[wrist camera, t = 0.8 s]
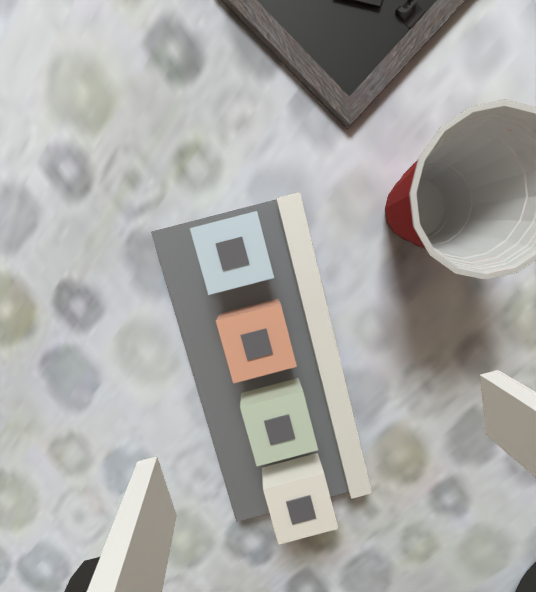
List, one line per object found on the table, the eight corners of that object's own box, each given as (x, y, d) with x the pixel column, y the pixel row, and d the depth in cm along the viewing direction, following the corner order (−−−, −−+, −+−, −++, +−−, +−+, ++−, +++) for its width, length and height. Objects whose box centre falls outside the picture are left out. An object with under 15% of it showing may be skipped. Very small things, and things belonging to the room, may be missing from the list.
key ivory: (330, 504, 34) (338, 530, 31) (276, 518, 34) (278, 545, 31) (317, 453, 33) (324, 474, 30) (262, 467, 33) (263, 490, 30)
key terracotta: (292, 355, 32) (297, 367, 29) (235, 370, 32) (233, 384, 29) (278, 298, 31) (280, 304, 28) (219, 314, 31) (215, 321, 28)
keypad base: (362, 474, 38) (372, 493, 35) (237, 507, 38) (235, 529, 35) (295, 196, 35) (299, 192, 32) (156, 232, 35) (147, 231, 32)
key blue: (272, 275, 31) (274, 278, 28) (212, 290, 31) (208, 295, 28) (256, 214, 30) (257, 210, 27) (195, 230, 30) (189, 228, 27)
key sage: (312, 432, 33) (318, 451, 30) (256, 446, 33) (256, 467, 30) (298, 378, 32) (303, 391, 29) (241, 393, 32) (240, 408, 29)
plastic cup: (382, 287, 36) (446, 307, 24) (340, 178, 35) (386, 142, 23) (488, 242, 36) (605, 240, 24) (451, 131, 35) (555, 70, 23)
